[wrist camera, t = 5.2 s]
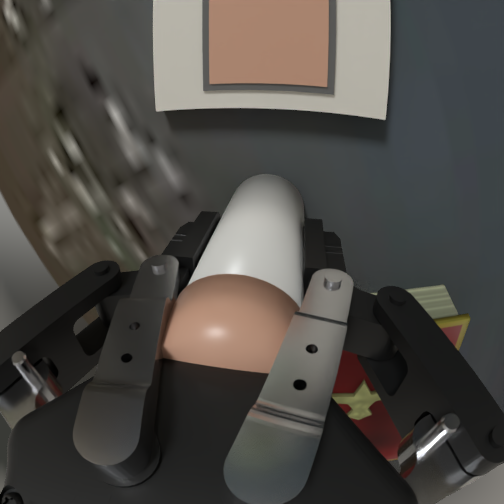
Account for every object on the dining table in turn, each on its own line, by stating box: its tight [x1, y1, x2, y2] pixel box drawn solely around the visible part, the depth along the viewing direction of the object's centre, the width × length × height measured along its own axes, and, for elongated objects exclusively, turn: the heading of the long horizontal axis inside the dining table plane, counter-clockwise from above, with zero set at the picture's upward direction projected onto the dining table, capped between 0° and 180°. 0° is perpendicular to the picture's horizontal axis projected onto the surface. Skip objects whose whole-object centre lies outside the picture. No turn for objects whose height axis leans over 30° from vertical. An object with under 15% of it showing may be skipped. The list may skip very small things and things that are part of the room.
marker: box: [161, 174, 304, 373], centre depth 11 cm, size 4×4×10 cm
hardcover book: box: [332, 285, 470, 461], centre depth 21 cm, size 12×21×4 cm, turn 11°
